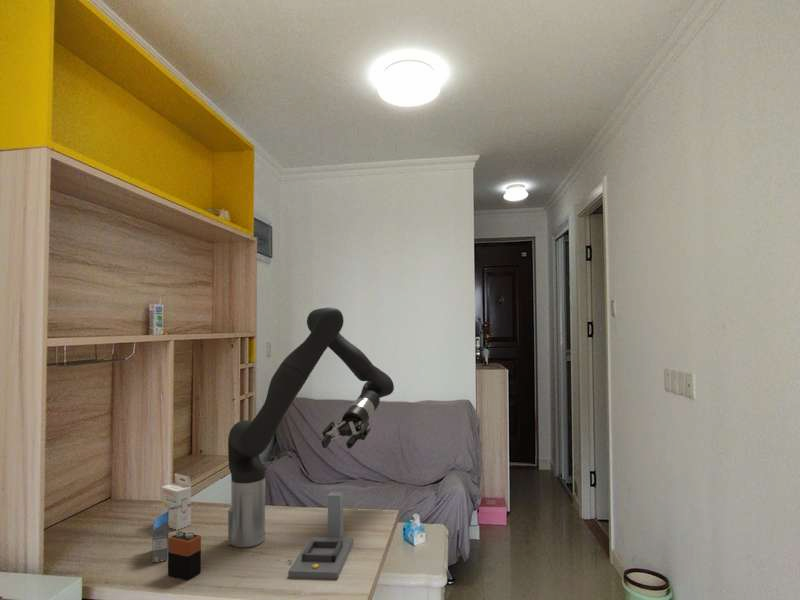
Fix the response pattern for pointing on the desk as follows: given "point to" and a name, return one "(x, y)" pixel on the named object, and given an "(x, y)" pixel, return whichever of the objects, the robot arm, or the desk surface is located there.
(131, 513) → the desk surface
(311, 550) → the power dock
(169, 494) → the ink cartridge box
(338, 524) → the plug
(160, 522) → the label tape cartridge
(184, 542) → the battery
